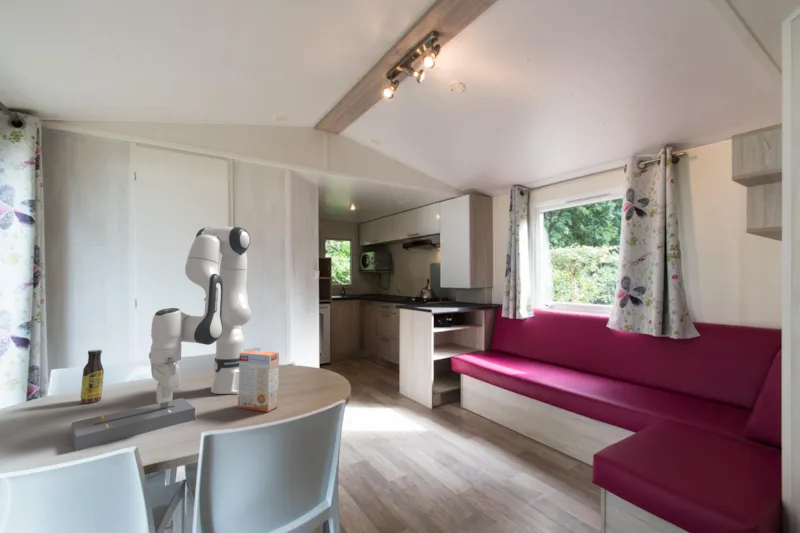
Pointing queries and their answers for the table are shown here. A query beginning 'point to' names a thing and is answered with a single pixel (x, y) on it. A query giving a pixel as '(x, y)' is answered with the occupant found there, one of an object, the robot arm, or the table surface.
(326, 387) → the table surface
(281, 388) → the table surface
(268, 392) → the cracker box
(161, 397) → the fader knob
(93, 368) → the sauce bottle
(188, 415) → the console
